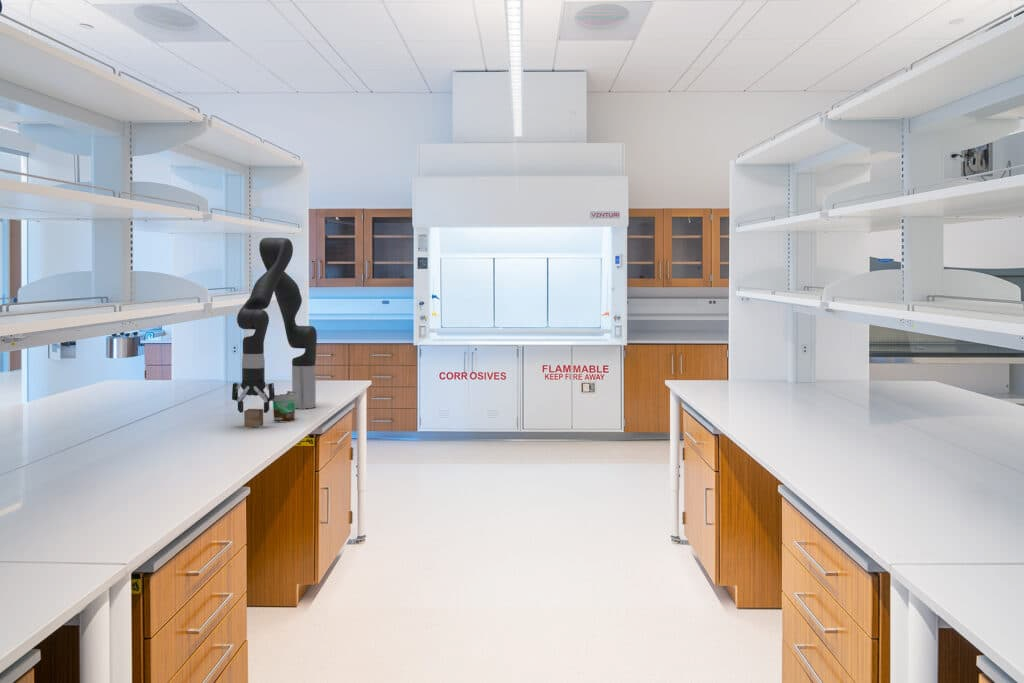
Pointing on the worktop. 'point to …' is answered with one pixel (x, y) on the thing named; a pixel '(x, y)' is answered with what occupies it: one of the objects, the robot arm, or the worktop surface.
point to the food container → (284, 406)
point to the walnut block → (253, 418)
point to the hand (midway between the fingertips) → (253, 412)
